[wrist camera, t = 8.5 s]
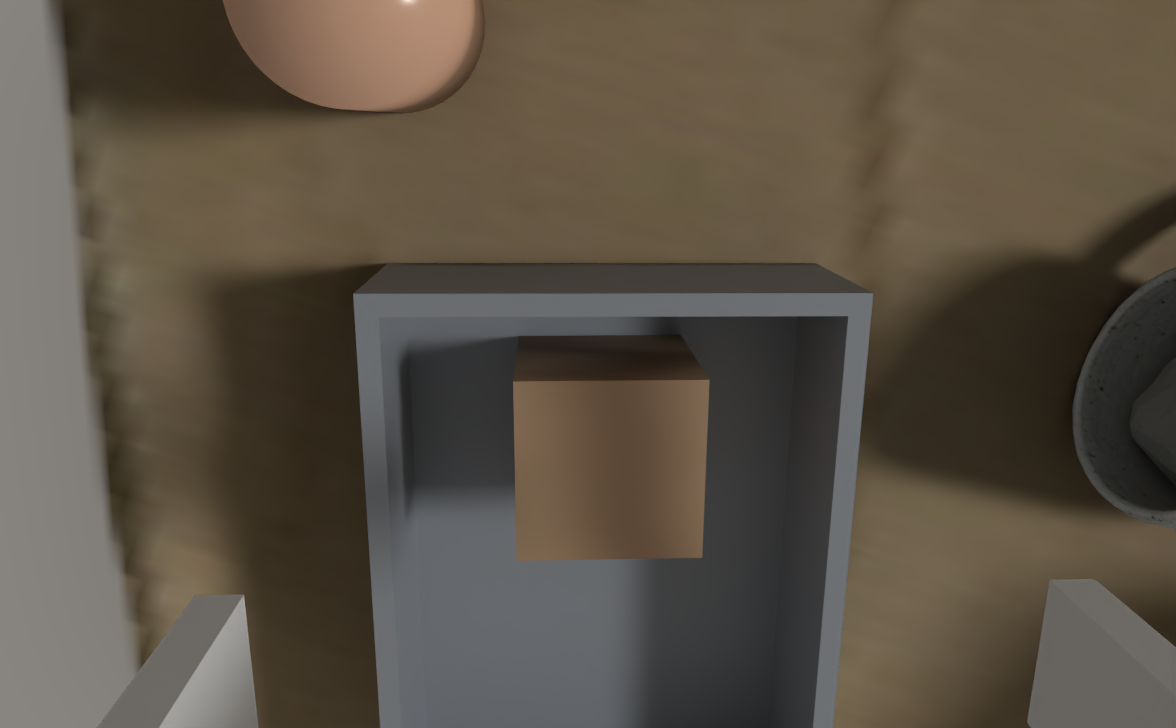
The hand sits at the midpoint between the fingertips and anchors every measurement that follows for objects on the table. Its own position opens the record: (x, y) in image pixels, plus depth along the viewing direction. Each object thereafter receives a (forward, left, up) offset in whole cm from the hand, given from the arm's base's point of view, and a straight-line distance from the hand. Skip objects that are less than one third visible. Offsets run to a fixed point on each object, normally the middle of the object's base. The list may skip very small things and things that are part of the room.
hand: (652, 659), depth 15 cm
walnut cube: (0, 0, -14) cm, 14 cm away
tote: (+4, 0, -14) cm, 15 cm away
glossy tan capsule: (-11, -6, -15) cm, 19 cm away
